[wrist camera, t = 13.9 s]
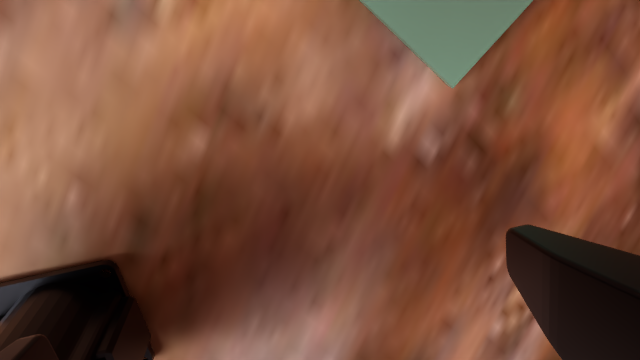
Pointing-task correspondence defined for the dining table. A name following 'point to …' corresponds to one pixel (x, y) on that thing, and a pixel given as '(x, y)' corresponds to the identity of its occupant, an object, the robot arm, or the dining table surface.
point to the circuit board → (448, 29)
